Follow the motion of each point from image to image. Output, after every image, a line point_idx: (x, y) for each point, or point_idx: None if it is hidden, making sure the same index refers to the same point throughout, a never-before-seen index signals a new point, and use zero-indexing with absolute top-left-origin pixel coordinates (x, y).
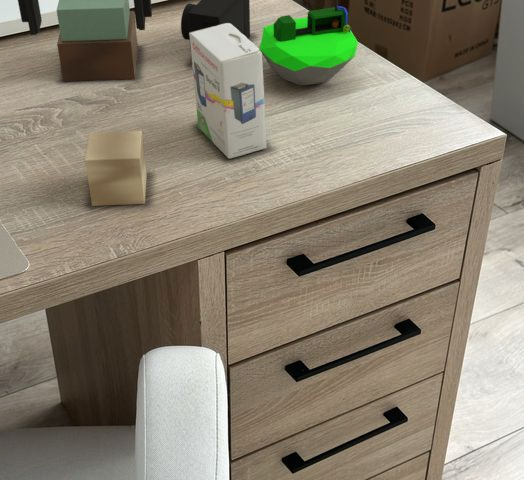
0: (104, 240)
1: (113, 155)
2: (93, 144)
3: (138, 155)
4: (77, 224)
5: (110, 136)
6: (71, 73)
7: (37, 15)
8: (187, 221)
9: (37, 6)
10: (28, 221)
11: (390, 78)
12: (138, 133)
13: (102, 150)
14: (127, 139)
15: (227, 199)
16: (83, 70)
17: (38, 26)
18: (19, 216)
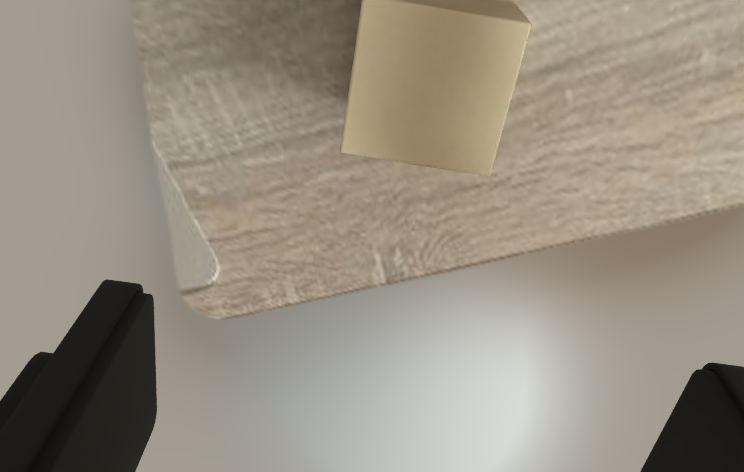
0: (366, 228)
1: (421, 148)
2: (370, 76)
3: (489, 163)
4: (312, 163)
5: (427, 38)
6: None
7: (130, 423)
8: (549, 205)
9: (115, 413)
10: (201, 127)
11: None
12: (517, 40)
13: (393, 116)
14: (476, 70)
15: (666, 145)
16: None
17: (148, 406)
18: (178, 103)
